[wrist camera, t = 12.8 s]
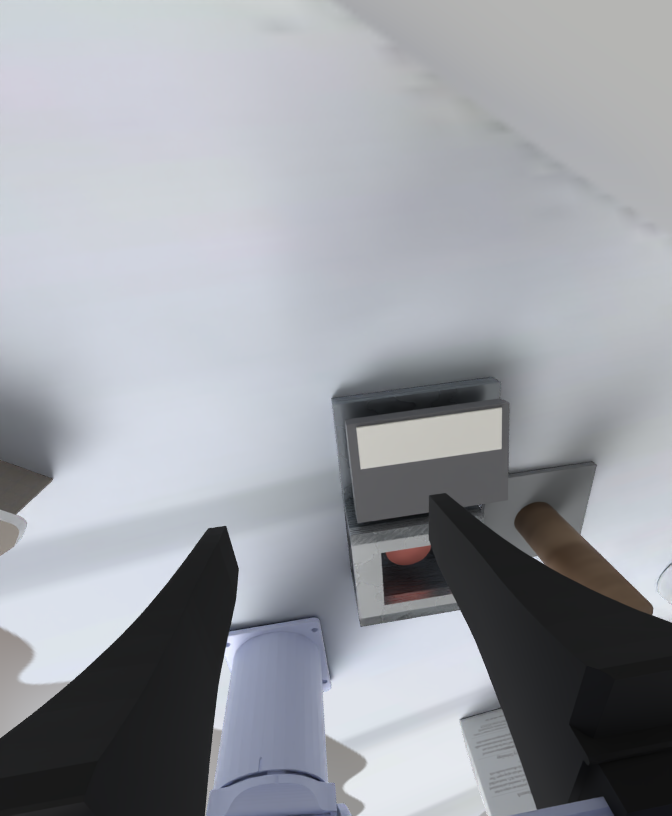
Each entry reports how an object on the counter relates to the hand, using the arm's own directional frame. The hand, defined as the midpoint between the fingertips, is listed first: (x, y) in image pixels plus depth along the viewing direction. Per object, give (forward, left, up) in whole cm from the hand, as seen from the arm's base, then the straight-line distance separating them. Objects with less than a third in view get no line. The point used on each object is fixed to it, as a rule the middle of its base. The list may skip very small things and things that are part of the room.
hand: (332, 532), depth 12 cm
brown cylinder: (-10, -15, -10) cm, 21 cm away
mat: (-10, -15, -10) cm, 21 cm away
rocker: (-2, -6, -7) cm, 10 cm away
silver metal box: (-7, -6, -10) cm, 13 cm away
